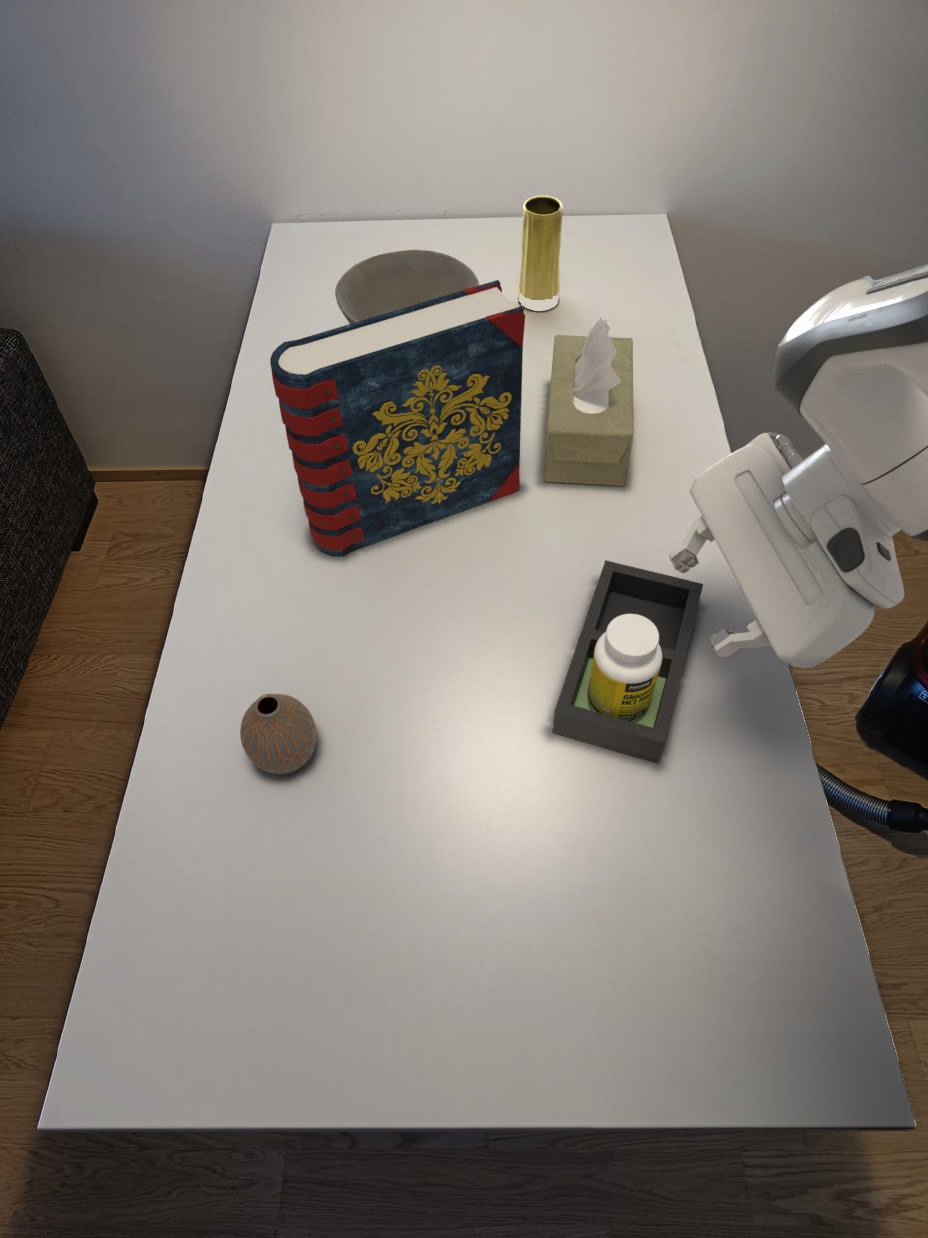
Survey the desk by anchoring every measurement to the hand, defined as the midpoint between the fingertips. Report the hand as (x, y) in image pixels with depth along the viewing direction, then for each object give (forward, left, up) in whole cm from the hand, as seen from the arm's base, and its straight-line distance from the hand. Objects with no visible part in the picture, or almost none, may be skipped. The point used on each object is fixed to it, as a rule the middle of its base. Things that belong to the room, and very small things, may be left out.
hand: (694, 605), depth 77 cm
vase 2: (+61, +32, -15) cm, 70 cm away
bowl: (+44, +45, -15) cm, 64 cm away
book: (+16, +34, -15) cm, 40 cm away
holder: (+2, +5, -14) cm, 15 cm away
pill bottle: (-3, +5, -14) cm, 15 cm away
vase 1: (-18, +34, -15) cm, 41 cm away
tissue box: (+35, +18, -15) cm, 42 cm away
